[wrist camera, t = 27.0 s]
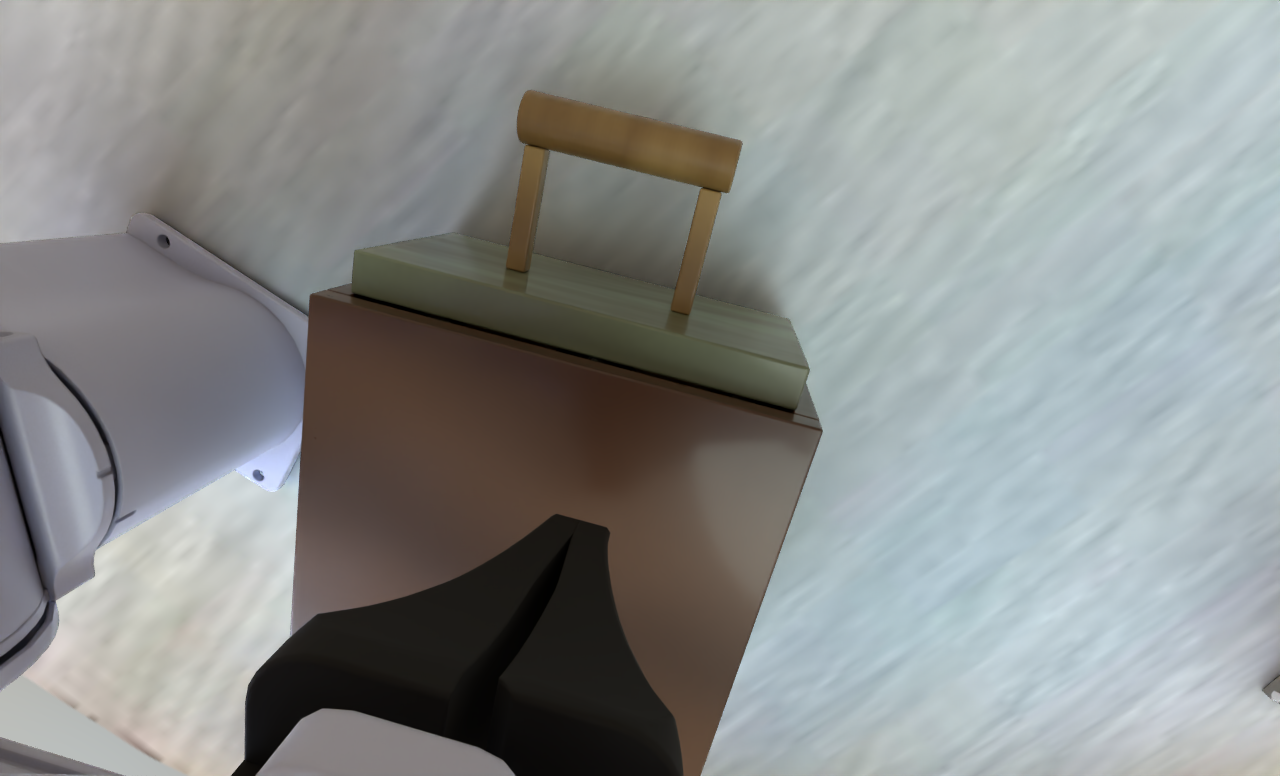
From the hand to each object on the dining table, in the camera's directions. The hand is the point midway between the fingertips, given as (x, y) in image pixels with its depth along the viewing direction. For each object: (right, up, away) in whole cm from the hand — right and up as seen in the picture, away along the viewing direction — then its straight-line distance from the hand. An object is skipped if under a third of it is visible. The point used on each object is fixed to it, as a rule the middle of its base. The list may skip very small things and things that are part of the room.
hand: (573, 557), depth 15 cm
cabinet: (-1, +1, +11) cm, 11 cm away
